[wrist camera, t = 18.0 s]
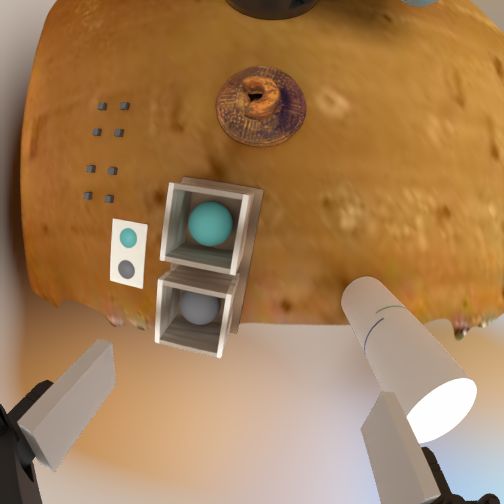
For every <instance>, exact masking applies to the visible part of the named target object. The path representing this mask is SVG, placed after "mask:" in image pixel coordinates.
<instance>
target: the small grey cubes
mask: <svg viewBox="0 0 504 504" xmlns="http://www.w3.org/2000/svg"><path fill="white" fill-rule="evenodd" d="M106 107H107V104H106V103H99V105H98V109H99V110H106ZM128 108H129V103H127V102H121V104H120V109H122V110H128ZM101 131H102V130H101V129H93V133H92V135H94V136H101ZM123 132H124V130H122V129H115V133H114V136H119V137H123ZM95 167H96V166H87V171H86V172H95ZM108 174H112V175H116V174H117V168H111V167H109V169H108ZM84 199H87V200H89V199H92V193H90V192H84ZM113 199H114V196H112V195H105V202H107V203H112V202H113Z"/></svg>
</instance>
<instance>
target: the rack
mask: <svg viewBox="0 0 504 504" xmlns="http://www.w3.org/2000/svg"><path fill="white" fill-rule="evenodd" d="M263 192H264V190H263V189H258V188H252V187H246V186H241V185H235V184H229V183H223V182H216V181H210V180H203V179H197V178H190V177H182V181H181V183H169V187H168V194H167V201H166V208H165V216H164V224H163V233H162V242H161V252H160V260H161V261H166V262H171V267H170V269H169V270H168V271H167V272H166V273H165V274H163V275H162V276H161V277H160V278H159V279H158V288H157V304H156V325H155V342H156V343H160V344H164V345H167V346H171V347H176V348H179V349H183V350H187V351H191V352H195V353H200V354H204V355H208V356H213V357H218V358H221V357H222V354H223V351H224V347H225V344H226V340H227V337H228V334H229V332H230V333H235V334H237V332H238V327H239V322H240V316H241V311H242V305H243V300H244V295H245V289H246V284H247V278H248V273H249V268H250V262H251V257H252V251H253V246H254V241H255V235H256V230H257V224H258V219H259V213H260V208H261V203H262V197H263ZM210 201H212V202H218V203H220V204H222V205H224V206H225V207H226V208H227V209H228V210H229V212H230V214H231V216H232V219H233V228H232V231H231V234H230V235H229V237H228V238H227V239H226V240H225V241H224V242H222V243H221V244H218V245H215V246H206V245H203V244H200V243H199V242H197V241H196V240H195V239H194V238H193V237H192V235H191V233H190V230H189V224H188V223H189V217H190V215H191V213H192V211H193V210H194V209H195V208H196V207H197V206H198V205H200V204H202V203H204V202H210ZM185 290H187V291H191V292H196V293H200V294H205V295H210V296H214V297H219V299H220V310H219V313H218V315H217V317H216V318H215V319H214V320H213V321H211V322H210V323H207V324H204V325H197V324H193V323H191V322H189V321H188V320H186V319H185V317H184V316H183V315H182V313H181V310H180V298H181V296H182V294H183V292H184V291H185Z"/></svg>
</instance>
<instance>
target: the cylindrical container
mask: <svg viewBox="0 0 504 504" xmlns="http://www.w3.org/2000/svg"><path fill="white" fill-rule="evenodd" d="M341 306H342V309H343V311H344V313H345V315H346V317H347V319H348V321H349V323H350V325H351V327H352V329H353V331H354V333H355V335H356V337H357V339H358V341H359V343H360V345H361V347H362V349H363V351H364V353H365V355H366V357H367V359H368V361H369V363H370V365H371V368H372V370H373V372H374V374H375V376H376V378H377V380H378V382H379V384H380V387H381V389H382V391H383V392H394V393H395V395H396V397H397V399H398V401H399V403H400V405H401V407H402V409H403V411H404V413H405V415H406V417H407V419H408V421H409V423H410V425H411V428H412V430H413V432H414V434H415V436H416V438H417V440H418V443H423V442H428V441H430V440H433V439H436V438H438V437H440V436H442V435H443V434H445V433H447V432H448V431H450V430H451V429H452V428H454V427H455V426H456V425H457V424H458V423H459V422H460V421H461V420H462V419H463V418H464V417H465V416H466V414H467V413H468V411H469V410H470V408H471V406H472V405H473V403H474V400H475V398H476V392H477V391H476V385H475V383H474V382H473V381H472V379H471V378H470V377H469V376H468V375H467V374H466V372H465V371H464V370H463V369H462V368H461V367H460V365H459V364H458V363H457V362H456V361H455V360H454V359H453V357H452V356H451V355H450V354H449V353H448V352H447V351H446V350H445V349H444V347H443V346H442V345H441V344H440V343H439V342H438V341H437V340H436V339H435V338H434V337H433V335H432V334H431V333H430V332H429V331H428V330H427V329H426V328H425V327H424V326H423V325H422V324H421V323H420V321H419V320H418V319H417V318H416V317H415V316H414V315H413V314H412V313H411V312H410V311H409V310H408V309H407V308H406V307H405V306H404V305H403V304H402V303H401V302H400V301H399V300H398V299H397V298H396V297H395V296H394V295H393V294H392V293H391V292H390V291H389V290H388V289H387V288H386V287H385V286H384V285H383V284H382V283H381V282H380V281H379V280H377V279H376V278H373V277H360V278H358V279H356V280H354V281H352V282H351V283H350V284H349V285H348V286H347V287H346V289H345V290H344V292H343V295H342V299H341Z"/></svg>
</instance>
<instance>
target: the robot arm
mask: <svg viewBox="0 0 504 504" xmlns="http://www.w3.org/2000/svg"><path fill="white" fill-rule="evenodd" d="M226 1H227V2H228V3H229V4H230V5H231V6H232V7H233V8H234V9H236V10H237V11H239V12H241V13H243V14H245V15H248V16H251V17H255V18H260V19H268V20H279V19H287V18H292V17H296V16H299V15H301V14H303V13H305V12H307V11H309V10H310V9H311V8H313V7H314V6H315V4H316V3H317V1H318V0H226ZM400 1H402V2H404V3H406V4H408V5H410V6H413V7H425V6H429V5H431V4H433V3H435V2H437V1H438V0H400ZM115 385H116V379H115V369H114V358H113V345H112V342H109V341H106V340H103V339H100V338H99V339H98V340H97V341H96V342H95V343H94V344H93V345H92V346H91V347H90V348H89V349H88V350H87V351H86V352H85V353H84V354H83V355H82V356H81V357H80V358H79V359H78V360H76V361H75V363H74V364H72V365H71V367H70V368H69V369H68V370H66V371H65V373H64V374H63V375H62V376H61V377H60V378H59V379H58V380H57V381H56V382H55V383H53V382H51V381H49V380H45V381H43V382H41V383H39V384H37V385H36V386H35V387H34V388H33V389H32V390H31V392H29V393H28V394H27V395H26V397H24V398H23V399H22V400H21V401H20V402H19V403H18V404H17V405H16V406H15V407H14V408H13V409H12V410H11V411H10V412H9V413H8V414H6V411H5V409H4V408H3V406H2V405H1V404H0V504H42V500H41V496H40V492H39V488H38V484H37V479H36V474H35V469H34V464H33V462H32V460H33V459H34V458H35V456H36V458H37V460H38V461H39V463H40V464H41V465H43V466H44V467H46V468H48V469H49V470H51V471H53V472H55V471H56V469H57V468H58V467H59V465H60V464H61V462H62V461H63V459H64V458H65V456H66V455H67V453H68V452H69V450H70V449H71V447H72V446H73V444H74V443H75V442H76V440H77V439H78V437H79V436H80V434H81V433H82V432H83V430H84V429H85V427H86V426H87V424H88V423H89V422H90V420H91V419H92V417H93V416H94V415H95V413H96V412H97V410H98V409H99V407H100V406H101V405H102V403H103V402H104V401H105V399H106V398H107V396H108V395H109V394H110V392H111V391H112V389H113V388H114V387H115ZM361 432H362V435H363V439H364V442H365V446H366V449H367V452H368V456H369V459H370V463H371V467H372V470H373V474H374V478H375V482H376V485H377V489H378V493H379V497H380V501H381V504H500V501H499V499H498V497H496V496H495V495H494V494H486V495H484V496H483V497H481V498H480V499H479V500H478V501H465V500H464V499H463V498H462V497H461V496H459V495H455V494H452V493H451V491H450V488H449V486H448V484H447V482H446V480H445V477H444V475H443V473H442V471H441V470H440V469H441V468H440V466H439V464H437V460H436V458H435V455H434V454H433V452H432V451H431V450H429V448H427V447H420V445H419V443H418V440H417V438H416V436H415V434H414V432H413V430H412V428H411V425H410V423H409V421H408V419H407V417H406V415H405V413H404V411H403V409H402V407H401V405H400V403H399V401H398V399H397V397H396V395H395V393H394V392H381V393H380V395H379V397H378V399H377V401H376V403H375V405H374V407H373V408H372V410H371V412H370V414H369V416H368V417H367V419H366V421H365V422H364V424H363V426H362V427H361Z"/></svg>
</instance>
